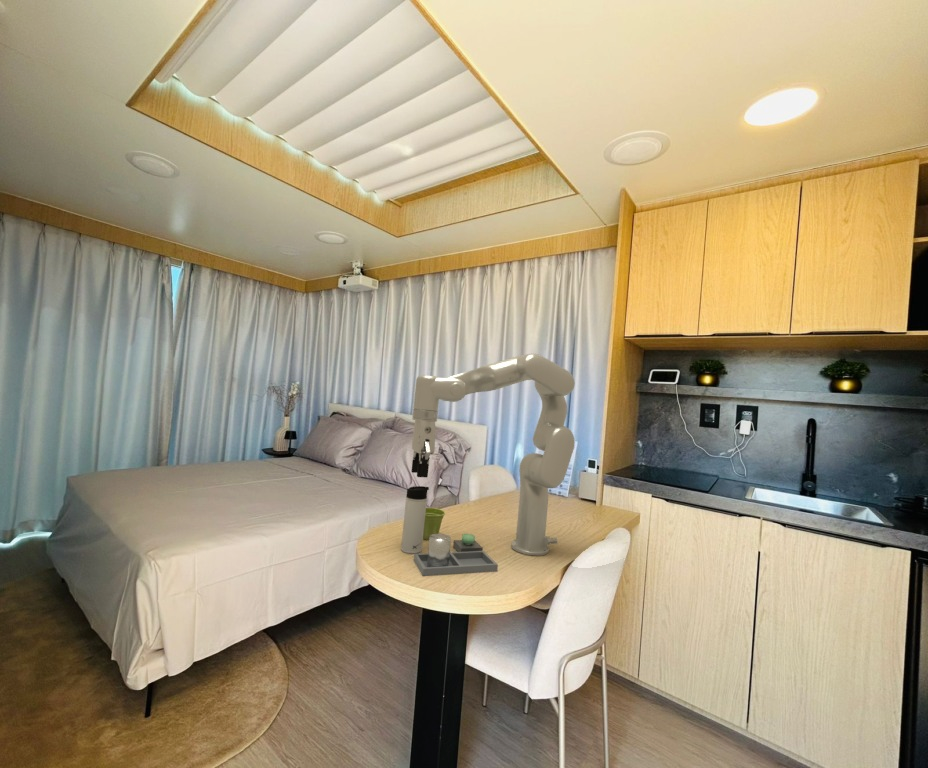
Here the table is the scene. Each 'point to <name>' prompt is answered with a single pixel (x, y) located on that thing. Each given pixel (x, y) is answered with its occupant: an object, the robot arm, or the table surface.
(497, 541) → the table surface
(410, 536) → the travel mug
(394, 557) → the table surface
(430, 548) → the steel stub
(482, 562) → the divided tray
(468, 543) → the button
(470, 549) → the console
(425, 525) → the plant pot
